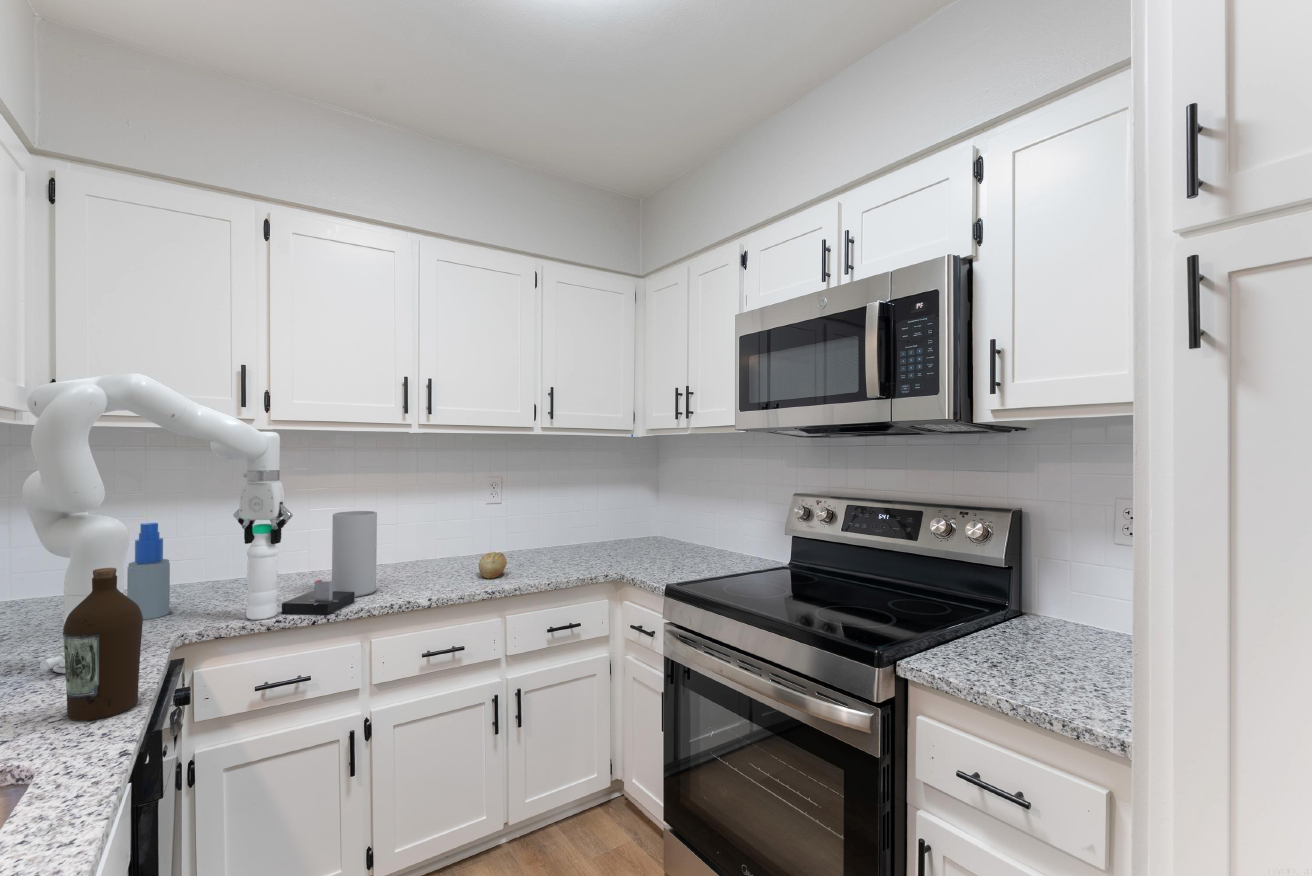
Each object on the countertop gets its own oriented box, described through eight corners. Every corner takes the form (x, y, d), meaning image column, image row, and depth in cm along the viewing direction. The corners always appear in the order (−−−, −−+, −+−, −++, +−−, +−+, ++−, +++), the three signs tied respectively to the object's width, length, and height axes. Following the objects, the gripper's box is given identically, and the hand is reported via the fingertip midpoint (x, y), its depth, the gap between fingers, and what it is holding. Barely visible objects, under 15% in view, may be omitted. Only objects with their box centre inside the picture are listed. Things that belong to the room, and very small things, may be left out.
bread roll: (507, 570, 231) (508, 548, 231) (505, 579, 216) (505, 556, 216) (480, 571, 229) (481, 549, 229) (476, 580, 214) (477, 556, 214)
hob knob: (332, 600, 175) (332, 579, 175) (329, 601, 173) (329, 581, 173) (317, 599, 175) (318, 579, 175) (314, 601, 174) (314, 580, 174)
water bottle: (262, 621, 165) (263, 526, 165) (239, 619, 166) (240, 525, 166) (283, 614, 172) (284, 523, 172) (261, 612, 173) (262, 522, 173)
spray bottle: (120, 621, 163) (121, 525, 163) (135, 612, 172) (136, 521, 172) (162, 618, 167) (163, 524, 167) (174, 609, 175) (175, 520, 175)
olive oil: (108, 695, 117) (109, 562, 117) (157, 699, 116) (158, 564, 116) (45, 720, 107) (46, 574, 107) (97, 725, 105) (99, 577, 105)
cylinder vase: (383, 588, 201) (383, 511, 201) (364, 598, 189) (365, 515, 189) (344, 587, 202) (345, 510, 202) (323, 597, 189) (324, 515, 189)
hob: (329, 616, 170) (329, 604, 170) (278, 615, 170) (278, 603, 170) (358, 601, 185) (358, 591, 185) (311, 600, 186) (312, 590, 186)
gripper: (222, 477, 165) (221, 545, 165) (285, 478, 165) (285, 546, 165) (242, 475, 173) (241, 540, 173) (303, 476, 172) (302, 541, 172)
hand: (262, 542), depth 169 cm, fingers open, 6 cm apart
